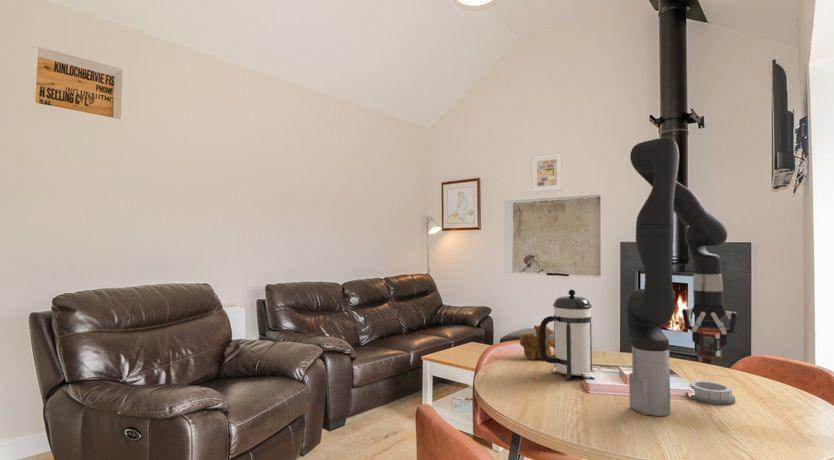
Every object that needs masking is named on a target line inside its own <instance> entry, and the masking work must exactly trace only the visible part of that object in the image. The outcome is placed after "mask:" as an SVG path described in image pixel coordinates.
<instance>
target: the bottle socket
mask: <svg viewBox="0 0 834 460" xmlns="http://www.w3.org/2000/svg"><path fill="white" fill-rule="evenodd" d="M690 387H691V388H692V389H694V391H695V395H692V396H691V398H690V399H692V400H694V401H697V402H700V403H704V404H709V405H715V406H716V405H717V406H729V405H733V404H735V403H736V397H735V396H734V395H733V388H731V386H729V385H727V384H725V383H720V382H716V381H712V380H711V381H709V380H693V381H691V382H689V388H690Z"/></svg>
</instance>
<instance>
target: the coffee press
mask: <svg viewBox="0 0 834 460" xmlns="http://www.w3.org/2000/svg"><path fill="white" fill-rule="evenodd" d="M567 293H568V295H569V296H560V297H557V298H556V299H555V300H554V303H553V304H552V306H553V309H554V311H553V313H554V314H553V316H552V315H550V316H547V317H545V318H543V319H542V321H541V323H540V324H539V325H540V333H539V339H540V355H541V357H542V359H543V360H542V361H544V362H546V363H548V364H554V366H553V367H552V369H550V371H551V373H552V374H556V373H557V372H559V373H561V374H564V375H566V376H565V379H566V381H568V380H569V381H568V382H571V381H572V377H573V376H582V375H581V374H582V373H586V372H590V371H591V372H592V371H593V372H594V370H593V351H592V350H593V348H592V347H593V345H592V344H593V343H592V334H593V333H592V315H591V313H592V312H593V309H592V304H591V303H590V301H589V300H588V299H587V298H585V297H582V296H575V294H576V291H575V290H574V289H569V290H568V292H567ZM551 322H553V331H554V332H553V333H554V334H553V335H554V336H553V337H554V338H553V340H554V346H553V347H554V349H553V350H554V354H553V355H555V358H548V357H547V355H546V347H545V329H546V326H547V325H548V324H549V323H551ZM554 368H555V369H556V371H554ZM591 372H590V373H591Z"/></svg>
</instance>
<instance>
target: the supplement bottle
mask: <svg viewBox="0 0 834 460" xmlns="http://www.w3.org/2000/svg"><path fill="white" fill-rule="evenodd" d="M697 331H698V344H697V346H698V348H697V349H698V350H697V351H698V357H700V358H702V359H705V360H712V361H713V360H715V361H716V360H717V361H719V360H721V359H722V358H723V347H721V333H722V332H721V330H720V329H719V327H718V326H717V324H716V323H715V321H710V320H703V321H702V322H701V324H700V325H699V327H698V329H697Z"/></svg>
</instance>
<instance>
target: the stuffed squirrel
mask: <svg viewBox="0 0 834 460" xmlns="http://www.w3.org/2000/svg"><path fill="white" fill-rule="evenodd" d="M540 325H541V324H539V325H538V326H537V325H533V327H534V328H533V329H534V330H535V334H536V336H535V335H534V334H532V333H525V334H522V335H521V336H520V337H519V338H518V339H519V340H520V341H519V345H520V346H522V347H523V353H524V356H525V357H526V358H528V359H529V360H531V359H532V360H531V361H535V360H539V359H541V360H540V361H544V360H543V359H542V357H541V355H540V339H539V333H540ZM550 335H551V336H553V335H554V334H553V332H552V330H551V329H550V328H549V327H548V326H547V325H546V329H545V347H546V355H547V357H548V358H555V355H554V354H552V351H551V347H554V339H551V340H550V339H548V337H550ZM534 359H535V360H534Z"/></svg>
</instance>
